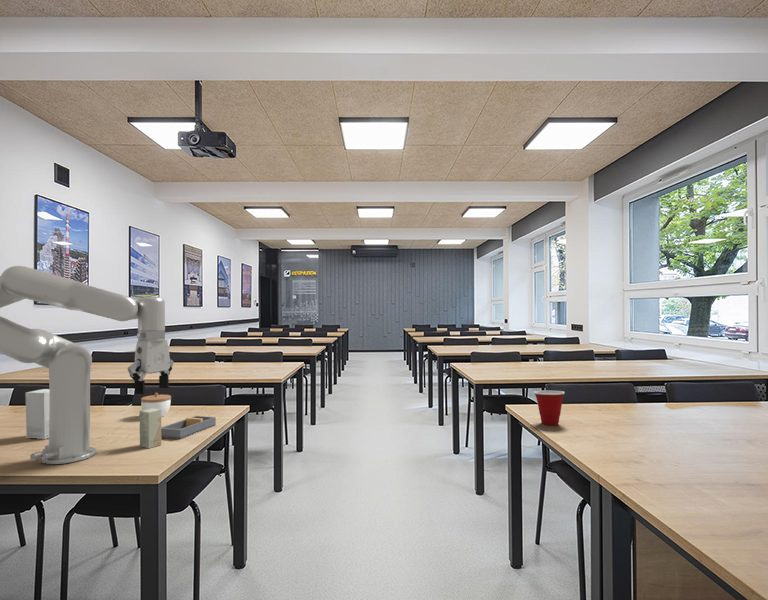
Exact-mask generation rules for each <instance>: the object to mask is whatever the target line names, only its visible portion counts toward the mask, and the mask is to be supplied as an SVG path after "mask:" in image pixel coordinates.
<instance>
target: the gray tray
mask: <svg viewBox="0 0 768 600" xmlns="http://www.w3.org/2000/svg"><path fill="white" fill-rule="evenodd" d="M190 418H202V419H203V421H201V422H199V423H196V424H193V425H190V426H188V427H186V418H185V419H182V420H179V421H176V422H174V423H171V424H168V425H164V426H161V439H171V438H173V439H174V440H182V439H184V437H185V438H187V437H189V435H190V436H192V435H194V433H195V434H197V433H200V432H202V430H203V431H206V430H207V428H208V429H209V428H212V426H213V427H215V426H216V422H217V421H216V418H217V417H216V416H203V415H195V416H192V417H191V416H190ZM199 431H200V432H199ZM196 432H197V433H196ZM191 434H192V435H191ZM186 436H187V437H186ZM173 439H172V440H173Z"/></svg>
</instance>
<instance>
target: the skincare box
mask: <svg viewBox="0 0 768 600" xmlns="http://www.w3.org/2000/svg"><path fill="white" fill-rule="evenodd" d="M24 395H25V426H26V429H25V431H26V438H27V437H28V438H27V439H30V438H37V439H36V440H48V439H49V410H50V405H49V399H50V388H42V389H36V390H32V391H28V392H27V391H26V392H25V394H24ZM47 438H48V439H47Z"/></svg>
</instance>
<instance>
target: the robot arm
mask: <svg viewBox="0 0 768 600" xmlns="http://www.w3.org/2000/svg"><path fill="white" fill-rule="evenodd" d="M25 299H26V300H30V301H35V302H37V303H42V304H47V305H50V306H54V307H57V308H61V309H66V310H68V311H69V310H70V311H78V312H83V313H87V314H89V315H90V314H91V315H96V316H99V317H103V318H107V319H111V320H115V321H118V322H127V321H134V320H137V334H136V337H137V341H136V345H135V351H134V352H135V353H134V362H133V363H132V364H131V365H129V366H128V367H127V372H128V374H129V377H130V378H131V379H132V381H133V382H134V394H135V395H145V393H146V387H145V386H146V385H145V384H146V383H145V380H144V378H145V377H146V375H147V374H148V375H149V374H151V375H152V374H156V373H159V374H160V375H159V377H158V387H159V388H160V389H168V388H169V387H170V385H169V384H170V382H169V378H170V377H169V376H170V375H171V371H172V370H173V366H174V363H175V362H174V360H173V359H171V357H170V350H169V349H170V348H169V344H168V339H166V313H165V312H166V302H165V300H164V298H163V297H158V296H157V297H156V296H147V297H146V296H144V297H141V298H140V297H139V298H138V297H137V298H136V297H130V296H129V295H128V296H127V295H123V294H120V293H117V292H112V291H109V290H106V289H103V288H98V287H95V286H92V285H89V284H86V283H84V282H81V281H78V280H74V279H70V278H67V277H63V276H60V275H56V274H53V273H49V272H46V271H43V270H39V269H35V268H32V267H29V266H28V267H27V266H25V265H24V266H23V265H14V266H10V267H8V268H6V269H5V270H4V271H3V272H2V274H1V275H0V309H1V308H4V307H6V306H10V305H12V304H15V303H18V302H20V301H23V300H25ZM0 354H1V355H4V356H7V357H8V358H11V359H14V360H15V361H17V362H20V363H23V364H36V365H39V366H42V367H44V368H46V369H48V382H49V383H48V384H49V385H48V386H49V388H48V389H50V399H49V405H50V410H49V438H48V444H47V445H44V448H43V449H42V450H41V451H37V452H33V453H31V454H30V456H29V457H30V460H31V461H32V462H34V461H37V460H40V459H41V463H43V464H45V463H46V465H61V464H63V465H64V464H70V463H75V462H80V461H83V460H86V459H89V458H91V457H93V456H94V455H95V454H96V453H97V449H96V448H95V447H93V446H90V443H91V442H90V439H91V438H90V437H91V436H90V435H91V428H90V427H91V367H92V363H93V362H92V361H93V357H92V354H91V352H90V351H89V350H88V349H87V348H85V347H84V346H82V345H80V344H77V343H75V342H73V341H71V340H68V339H66V338H63V337H61V336H58V335H57V334H54V333H52V332H49V331H48V330H47V331H46V330H45V329H40V328H29V327H26V326H23V325H22V324H19V323H16V322H14V321H11V320H9V319H8V318H5V317H3V316H0Z"/></svg>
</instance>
